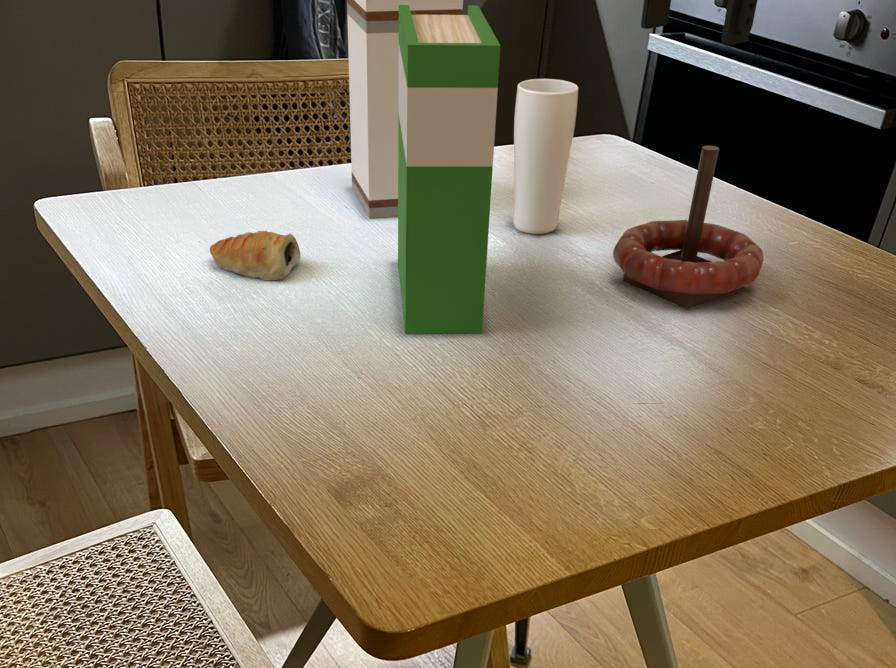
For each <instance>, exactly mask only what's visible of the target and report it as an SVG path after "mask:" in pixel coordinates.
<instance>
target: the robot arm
mask: <svg viewBox="0 0 896 668" xmlns="http://www.w3.org/2000/svg"><path fill="white" fill-rule="evenodd" d="M671 3H672V0H643V5H642V6H643V7H642V15H641V22H640V27H641V28H642V29H645V30H651V29H655V28H661V27H665V26H666V25H667V24H668V23H669V19H670V18H669V17H670V11H671ZM757 5H758V0H728V1H727V6H726V11H725V17H724V22H723V28H722V34H721V38H720V39H721V40H720V41H721V43H722V45H725V46H731V45H736V44H743V43H746V42H748V40H749V38H750V34H751V31H752V29H753V24H754V19H755V15H756V10H757Z"/></svg>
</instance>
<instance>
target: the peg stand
mask: <svg viewBox="0 0 896 668" xmlns="http://www.w3.org/2000/svg"><path fill="white" fill-rule="evenodd" d="M719 152H720V148H719V146H715V145H703V146H702V147H701V152H700V158H699V162H698V168H697V172H696V176H695V184H694V188H693V192H692V198H691V204H690V208H689V214H688V218H687V220H688V223H687V228H686V233H685V239H684V244H683V249H682V250H675V251H674V252H670V253H667V254H663V255H661V256H662V257H665V258H667V259H674V260H681V261H688V262H694V263H703V262H713V261H712V260H709V259H706V258H704V257H701V256H698V254H699V253H698V249H699V244H700V240H701V235H702V230H703V225H704V223H705V220H706V215H707V210H708V206H709V201H710V196H711V191H712V186H713V180H714V177H715V172H716V167H717V161H718V157H719ZM622 283H625V284H627V285H629V286H632V287H634V288H637V289H638V290H641V291H643V292H645V293H648V294H650V295H651V296H655V297H656V298H659V299H662V300H664V301H666V302H668V303H671V304H673V305H675V306H678V307H680V308H682V309H684V310H687V311H689V310H692V309H695V308H697V307H700V306H703V305H706V304H709V303H711V302H714V301H717V300H719V299H722V298H725V297H727V296H730V295H733V294H736V293H738V292H741V291H743V290H745V287H746V286H744V287H742V288H739V289H736V290H734V291H731V292H729V293H723V294H703V295H688V294H682V293H675V292H669V291H663V290H657V289H654V288H652V287H649V286H647V285H645V284H642V283H640V282H637V281H635V280H632V279H630V278H629V277H627V276H626V275H625V273H624V272H623V279H622Z"/></svg>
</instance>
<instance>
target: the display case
mask: <svg viewBox="0 0 896 668" xmlns="http://www.w3.org/2000/svg"><path fill="white" fill-rule="evenodd" d="M399 5H409V8H410V12H411V15H464V14H463V13H464V0H346V11H347V13H346V14H347V18H346V19H347V46H348V47H347V48H348V50H347V51H348V54H347V55H348V86H349V87H348V88H349V122H350V123H349V124H350V125H349V126H350V160H351V161H350V162H351V164H350V165H351V189H352V191H353V193H354V195H355V196H356V198H357V199H358V201H359V203H360V205H361V207H362V208H363V210H364V212H365V214H366V215H367V217H368V219H380V218H381V219H383V218H396V217H397V218H398V85H399Z"/></svg>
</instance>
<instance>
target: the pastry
mask: <svg viewBox="0 0 896 668" xmlns="http://www.w3.org/2000/svg"><path fill="white" fill-rule="evenodd" d="M209 253H210V255H211V257H212V259H213V261H214V263H215V265H217V266H219V267H220V269H224V270H225V271H227V272H233V274H238V275H243V276H244V277H248V278H253V279H255V278H260V279H261V280H265V281H275V280H277V281H278V280H284V279H285V278H287V276H288V275H289V274H291V273H290V272H291V271H292V269H293V267H295V265H297V264H298V263H299V262H300V261H301V250H300V246H299V243H298V241H297V239H296V237H295V235H294V234H292V233H288V234H287V235H286V234H285V235H283V234H280V233H277V232H273V231H267V230H257V231H256V232H248V231H247V232H245V233H243V234H237V235H236V236H229V237H226V238H223V239H220V240H217V241H216V242H215V243H213V244H212V245H211V246H209Z"/></svg>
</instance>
